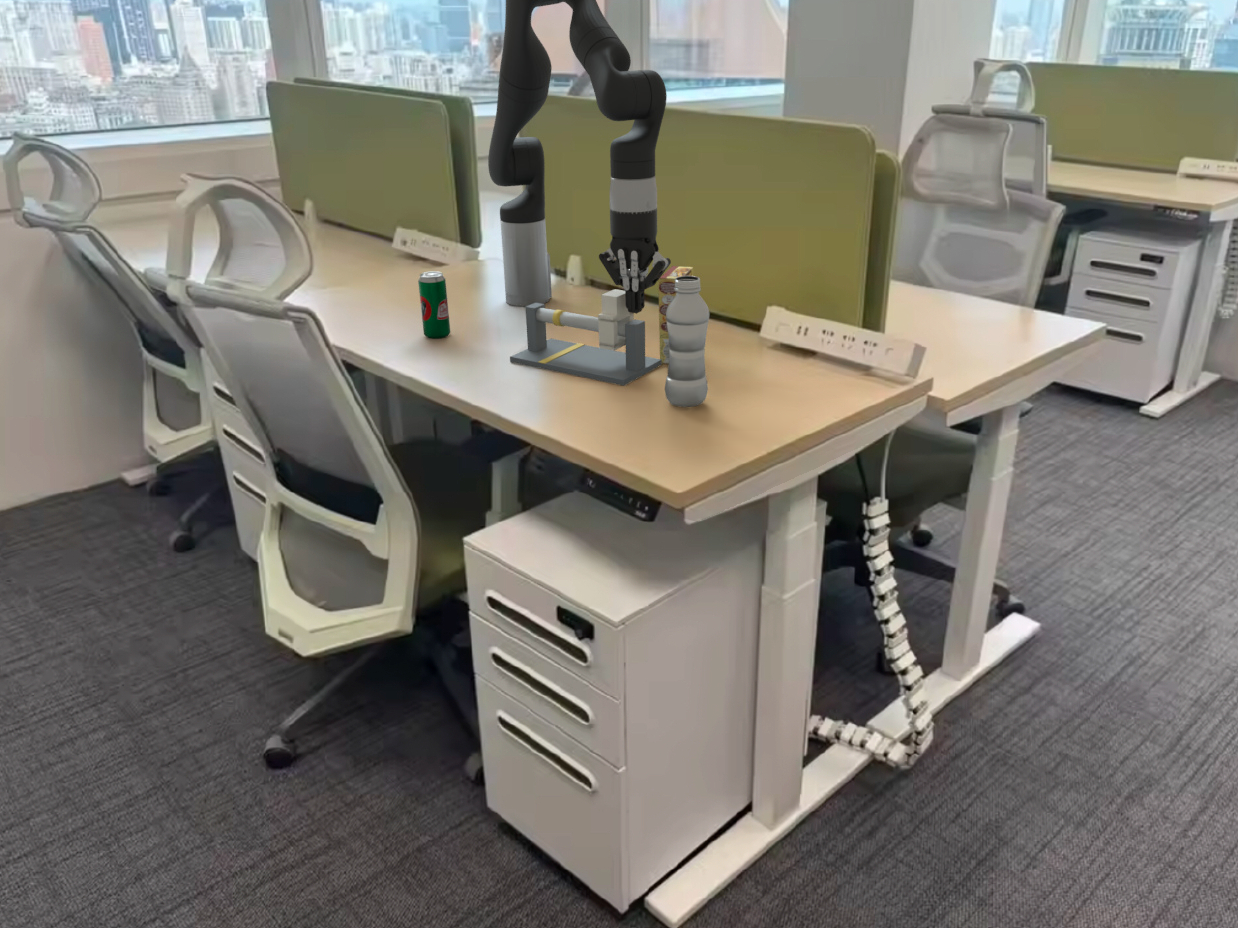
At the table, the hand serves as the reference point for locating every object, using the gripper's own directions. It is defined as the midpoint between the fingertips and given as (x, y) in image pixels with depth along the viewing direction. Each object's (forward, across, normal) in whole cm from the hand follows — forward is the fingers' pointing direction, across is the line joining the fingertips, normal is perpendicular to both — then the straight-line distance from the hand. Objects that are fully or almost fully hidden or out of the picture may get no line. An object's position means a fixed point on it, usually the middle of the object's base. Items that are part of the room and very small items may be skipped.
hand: (635, 311), depth 166 cm
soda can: (+11, +44, +1) cm, 46 cm away
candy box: (+11, -2, -11) cm, 16 cm away
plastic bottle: (+11, -15, +8) cm, 20 cm away
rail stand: (+11, +10, 0) cm, 15 cm away
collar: (+6, +4, 0) cm, 7 cm away
